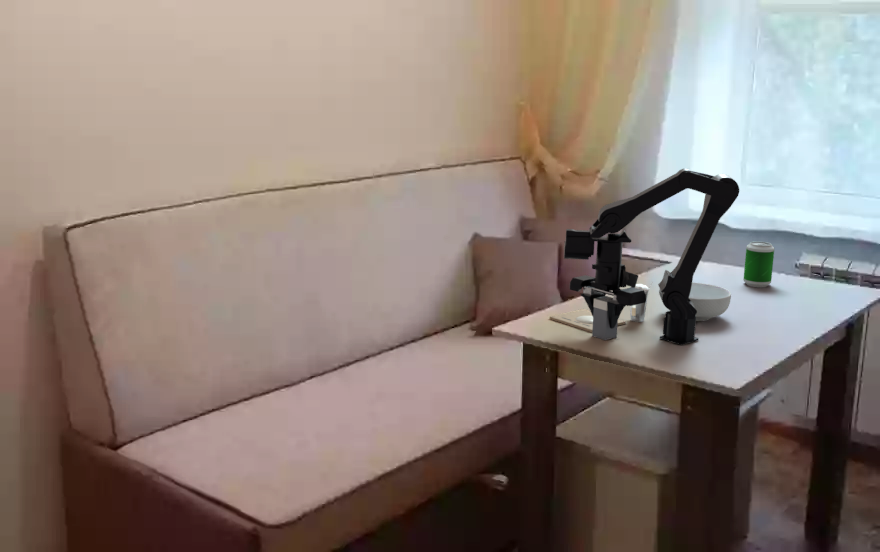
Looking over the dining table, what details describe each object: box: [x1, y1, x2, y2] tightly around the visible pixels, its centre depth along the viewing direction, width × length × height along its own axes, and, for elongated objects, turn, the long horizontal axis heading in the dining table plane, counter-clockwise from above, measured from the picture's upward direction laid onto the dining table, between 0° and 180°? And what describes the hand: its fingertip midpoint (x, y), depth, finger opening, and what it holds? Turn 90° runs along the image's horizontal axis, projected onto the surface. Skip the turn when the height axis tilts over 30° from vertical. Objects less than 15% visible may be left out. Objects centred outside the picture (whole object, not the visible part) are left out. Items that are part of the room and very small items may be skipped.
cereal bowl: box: [666, 281, 732, 322], centre depth 240 cm, size 17×17×7 cm
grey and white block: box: [591, 295, 618, 341], centre depth 222 cm, size 4×4×9 cm
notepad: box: [549, 308, 626, 333], centre depth 235 cm, size 14×12×1 cm
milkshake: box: [629, 281, 654, 323], centre depth 235 cm, size 4×5×10 cm
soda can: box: [742, 241, 775, 288], centre depth 272 cm, size 8×8×12 cm
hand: (605, 326), depth 223 cm, fingers closed on grey and white block, 4 cm apart
